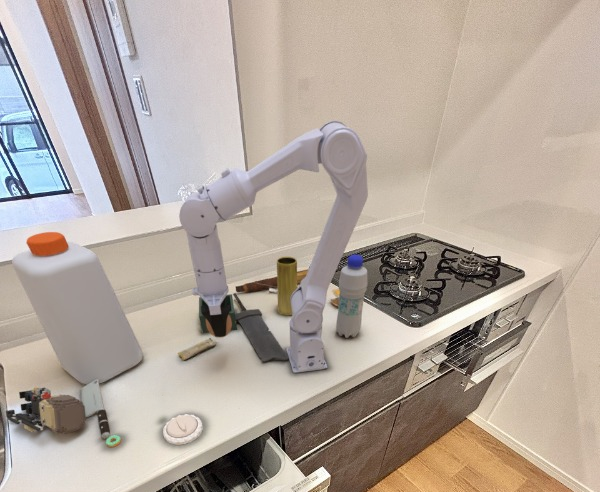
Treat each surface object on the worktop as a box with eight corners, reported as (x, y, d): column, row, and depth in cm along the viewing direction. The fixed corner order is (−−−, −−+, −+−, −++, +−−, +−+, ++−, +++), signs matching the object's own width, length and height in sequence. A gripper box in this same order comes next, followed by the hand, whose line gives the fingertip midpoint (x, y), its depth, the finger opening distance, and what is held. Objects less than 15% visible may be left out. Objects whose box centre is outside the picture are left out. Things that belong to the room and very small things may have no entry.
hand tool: (312, 278, 115) (312, 267, 113) (316, 280, 113) (316, 269, 111) (235, 293, 108) (233, 281, 106) (237, 296, 105) (235, 284, 103)
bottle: (359, 341, 88) (370, 262, 74) (333, 338, 89) (339, 260, 75) (361, 327, 92) (372, 250, 79) (336, 325, 93) (342, 248, 80)
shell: (345, 317, 99) (357, 307, 100) (344, 306, 96) (357, 296, 96) (327, 302, 103) (339, 293, 104) (326, 291, 99) (338, 282, 100)
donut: (167, 430, 67) (166, 427, 67) (108, 449, 63) (106, 445, 62) (163, 422, 69) (162, 419, 68) (106, 440, 64) (104, 436, 64)
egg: (226, 344, 75) (221, 315, 70) (204, 340, 76) (197, 311, 71) (237, 331, 78) (233, 303, 74) (216, 327, 80) (210, 299, 75)
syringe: (284, 295, 107) (285, 294, 108) (285, 289, 106) (286, 287, 107) (252, 289, 106) (253, 287, 108) (252, 282, 105) (254, 281, 107)
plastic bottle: (117, 337, 89) (67, 218, 70) (151, 359, 82) (106, 234, 63) (57, 365, 81) (-19, 239, 62) (89, 392, 74) (14, 260, 54)
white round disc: (196, 411, 70) (194, 404, 68) (208, 435, 65) (206, 427, 64) (159, 424, 67) (156, 417, 66) (169, 450, 63) (166, 443, 61)
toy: (-4, 386, 65) (37, 403, 58) (44, 380, 71) (86, 395, 64) (1, 422, 66) (41, 443, 59) (47, 413, 73) (88, 431, 66)
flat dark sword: (262, 369, 80) (261, 363, 79) (223, 299, 103) (221, 293, 102) (291, 361, 82) (291, 354, 81) (246, 294, 105) (245, 288, 104)
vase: (298, 315, 97) (298, 265, 87) (276, 315, 97) (273, 265, 87) (299, 305, 102) (298, 255, 92) (278, 305, 102) (275, 255, 92)
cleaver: (75, 388, 73) (96, 376, 73) (81, 392, 74) (101, 379, 74) (83, 448, 63) (107, 433, 64) (89, 451, 64) (112, 436, 65)
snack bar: (183, 359, 81) (176, 351, 82) (184, 363, 82) (177, 355, 83) (218, 342, 86) (211, 334, 87) (217, 346, 87) (210, 338, 88)
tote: (237, 329, 92) (234, 312, 89) (202, 333, 91) (198, 316, 87) (234, 310, 99) (231, 294, 96) (202, 313, 98) (199, 297, 95)
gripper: (187, 254, 71) (201, 313, 80) (186, 284, 61) (201, 349, 70) (222, 251, 72) (231, 310, 81) (227, 281, 62) (237, 345, 71)
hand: (220, 328), depth 76 cm, fingers closed on egg, 5 cm apart
